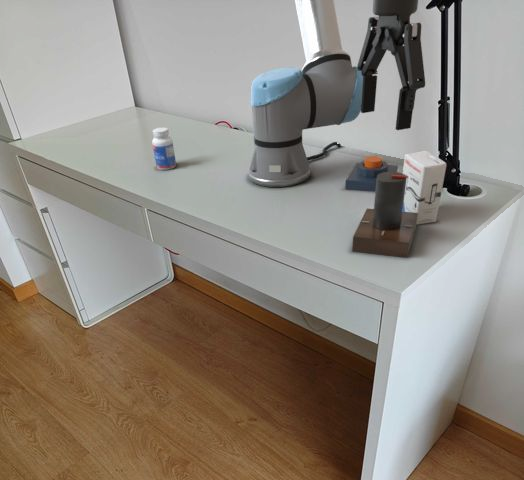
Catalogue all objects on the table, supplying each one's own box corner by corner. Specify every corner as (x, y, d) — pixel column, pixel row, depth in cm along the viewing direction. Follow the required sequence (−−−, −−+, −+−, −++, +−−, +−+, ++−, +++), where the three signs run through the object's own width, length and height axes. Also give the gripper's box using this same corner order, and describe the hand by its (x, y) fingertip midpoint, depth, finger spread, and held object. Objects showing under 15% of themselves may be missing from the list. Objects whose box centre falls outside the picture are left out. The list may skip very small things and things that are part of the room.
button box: (356, 171, 125) (357, 155, 122) (396, 174, 122) (398, 157, 119) (345, 189, 116) (346, 172, 114) (388, 192, 113) (390, 175, 111)
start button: (366, 163, 119) (366, 155, 118) (382, 164, 118) (383, 156, 117) (362, 168, 116) (363, 161, 115) (379, 169, 115) (380, 162, 114)
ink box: (396, 209, 106) (403, 152, 99) (418, 205, 107) (426, 149, 99) (414, 225, 99) (423, 166, 92) (437, 222, 100) (448, 162, 93)
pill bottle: (152, 168, 136) (145, 130, 130) (166, 162, 139) (159, 125, 133) (166, 171, 133) (160, 133, 127) (180, 165, 136) (174, 127, 130)
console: (365, 222, 102) (366, 207, 100) (415, 227, 99) (418, 212, 97) (352, 251, 93) (353, 235, 91) (407, 257, 90) (409, 241, 88)
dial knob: (370, 228, 93) (374, 179, 87) (375, 217, 97) (379, 169, 91) (398, 231, 91) (404, 181, 85) (402, 219, 95) (408, 171, 89)
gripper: (462, -13, 75) (438, 133, 89) (379, -19, 94) (370, 103, 107) (418, -9, 74) (401, 140, 87) (343, -16, 92) (338, 108, 106)
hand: (384, 120), depth 97 cm, fingers open, 13 cm apart
